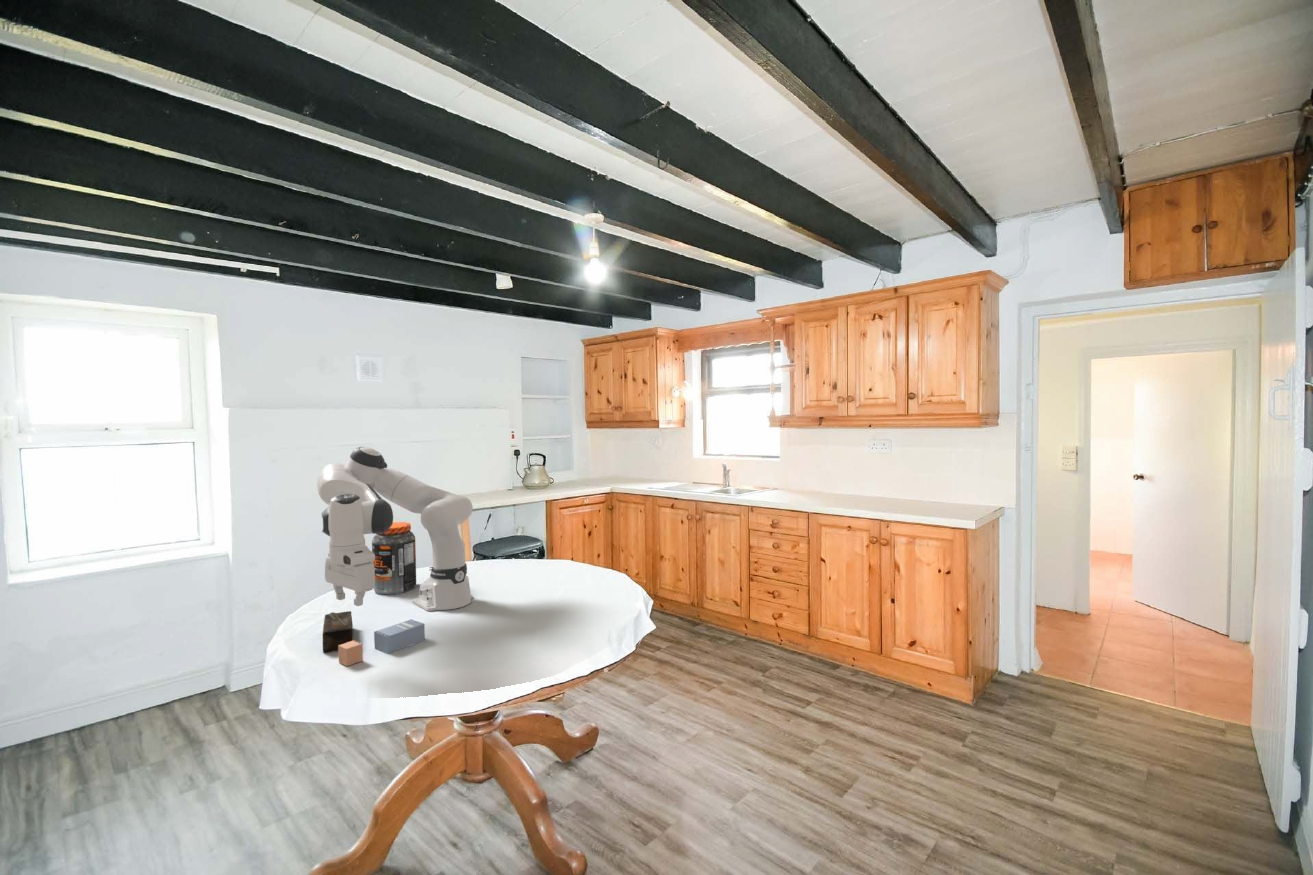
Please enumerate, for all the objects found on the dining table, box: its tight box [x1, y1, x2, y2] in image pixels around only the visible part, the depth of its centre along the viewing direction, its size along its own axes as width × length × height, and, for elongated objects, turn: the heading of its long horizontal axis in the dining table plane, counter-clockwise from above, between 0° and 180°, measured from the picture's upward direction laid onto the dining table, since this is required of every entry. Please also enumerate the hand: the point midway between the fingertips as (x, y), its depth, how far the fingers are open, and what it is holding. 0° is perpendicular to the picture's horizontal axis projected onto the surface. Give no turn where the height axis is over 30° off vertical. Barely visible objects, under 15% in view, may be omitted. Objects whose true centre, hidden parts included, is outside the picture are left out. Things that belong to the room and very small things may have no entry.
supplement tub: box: [371, 521, 417, 595], centre depth 225 cm, size 16×16×26 cm
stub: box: [337, 639, 364, 667], centre depth 159 cm, size 4×4×5 cm
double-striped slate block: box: [373, 619, 426, 654], centre depth 171 cm, size 7×12×5 cm, turn 146°
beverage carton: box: [322, 610, 354, 653], centre depth 175 cm, size 8×19×7 cm, turn 29°
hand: (349, 602), depth 159 cm, fingers open, 8 cm apart
